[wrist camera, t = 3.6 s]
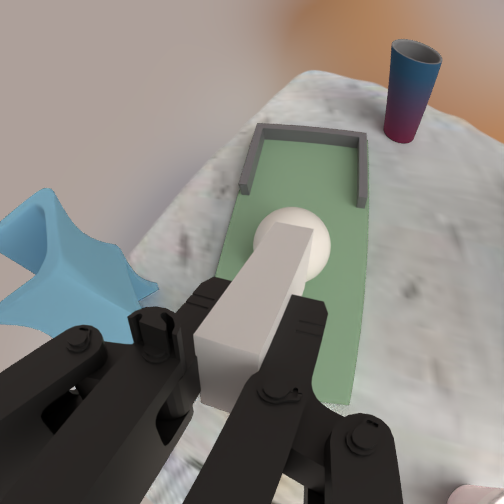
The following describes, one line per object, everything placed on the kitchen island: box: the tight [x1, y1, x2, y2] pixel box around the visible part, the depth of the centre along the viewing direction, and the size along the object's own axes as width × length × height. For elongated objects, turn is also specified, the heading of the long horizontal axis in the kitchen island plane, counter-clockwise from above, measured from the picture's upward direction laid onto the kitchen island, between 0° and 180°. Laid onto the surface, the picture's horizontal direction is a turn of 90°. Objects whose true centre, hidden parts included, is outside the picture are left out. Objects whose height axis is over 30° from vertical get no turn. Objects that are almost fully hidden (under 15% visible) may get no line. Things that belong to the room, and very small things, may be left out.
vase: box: [0, 188, 159, 344], centre depth 25 cm, size 8×8×20 cm
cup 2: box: [384, 39, 442, 143], centre depth 35 cm, size 7×7×15 cm
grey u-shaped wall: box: [239, 123, 368, 209], centre depth 38 cm, size 11×15×2 cm
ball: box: [253, 207, 331, 282], centre depth 30 cm, size 8×8×8 cm
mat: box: [215, 140, 369, 405], centre depth 35 cm, size 34×16×1 cm, turn 168°
